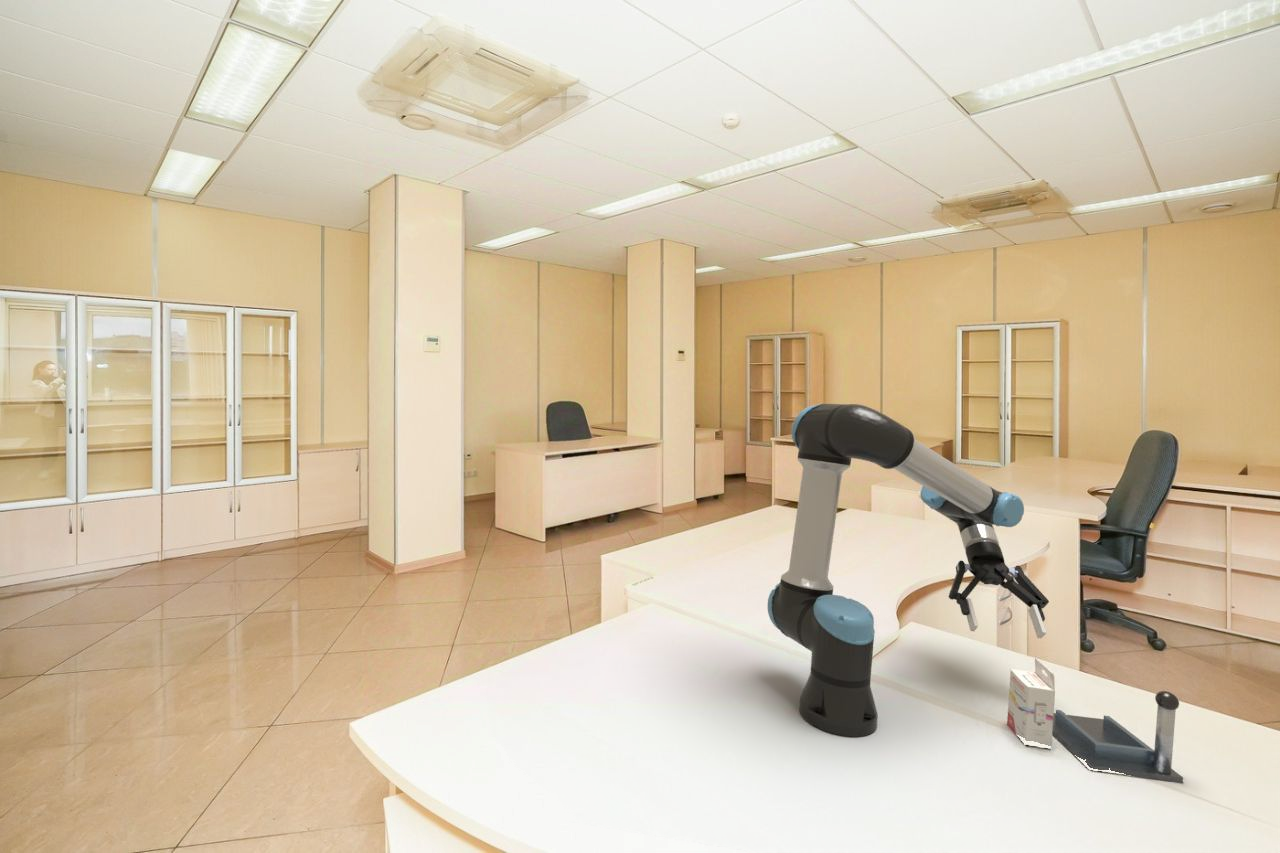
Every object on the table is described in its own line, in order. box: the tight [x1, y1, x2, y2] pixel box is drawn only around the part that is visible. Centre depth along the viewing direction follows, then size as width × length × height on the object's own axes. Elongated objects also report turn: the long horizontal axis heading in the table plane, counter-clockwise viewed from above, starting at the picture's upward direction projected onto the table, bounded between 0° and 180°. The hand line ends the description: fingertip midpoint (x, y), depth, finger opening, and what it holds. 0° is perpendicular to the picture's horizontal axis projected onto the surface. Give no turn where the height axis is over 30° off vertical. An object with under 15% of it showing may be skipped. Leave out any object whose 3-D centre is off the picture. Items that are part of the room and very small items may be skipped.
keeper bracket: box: [1052, 690, 1184, 784], centre depth 113 cm, size 15×20×15 cm
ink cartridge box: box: [1006, 658, 1056, 747], centre depth 115 cm, size 9×5×15 cm, turn 168°
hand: (1008, 632), depth 125 cm, fingers open, 13 cm apart
